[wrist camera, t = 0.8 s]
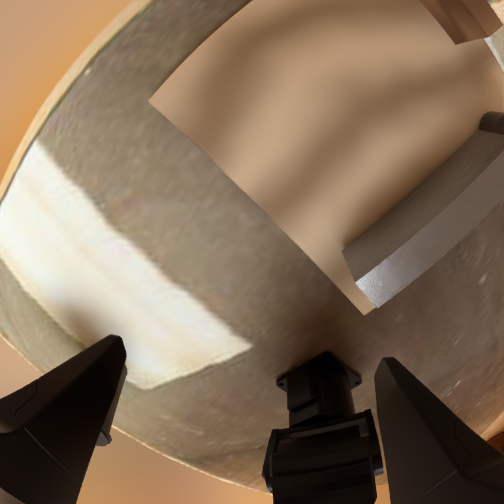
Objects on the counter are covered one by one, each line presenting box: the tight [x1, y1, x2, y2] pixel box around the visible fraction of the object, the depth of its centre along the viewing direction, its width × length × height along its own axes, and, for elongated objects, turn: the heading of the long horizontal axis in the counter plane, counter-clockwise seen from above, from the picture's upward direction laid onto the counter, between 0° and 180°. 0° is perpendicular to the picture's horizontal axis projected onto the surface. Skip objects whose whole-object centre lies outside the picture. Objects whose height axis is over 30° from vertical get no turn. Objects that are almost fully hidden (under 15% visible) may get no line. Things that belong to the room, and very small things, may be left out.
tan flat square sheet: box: [148, 0, 504, 315], centre depth 15 cm, size 22×22×1 cm
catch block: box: [419, 0, 503, 45], centre depth 9 cm, size 4×2×4 cm, turn 45°
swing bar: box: [341, 111, 504, 308], centre depth 14 cm, size 17×4×4 cm, turn 135°
